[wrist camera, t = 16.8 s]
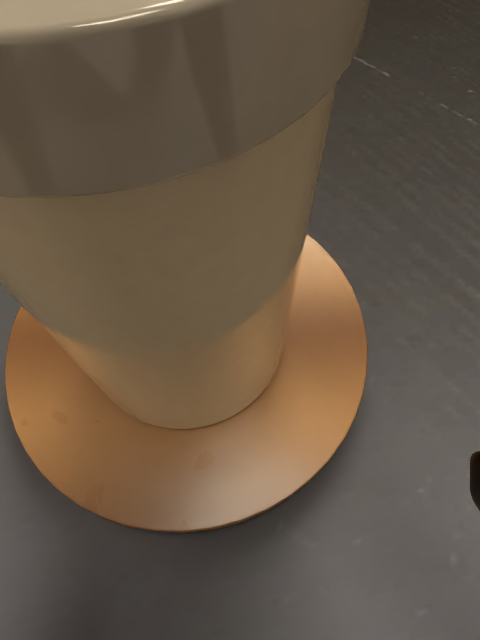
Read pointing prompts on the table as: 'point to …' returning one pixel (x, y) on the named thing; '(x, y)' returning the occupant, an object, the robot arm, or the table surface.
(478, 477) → the robot arm
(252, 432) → the disc
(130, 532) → the table surface
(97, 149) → the lidded mug
